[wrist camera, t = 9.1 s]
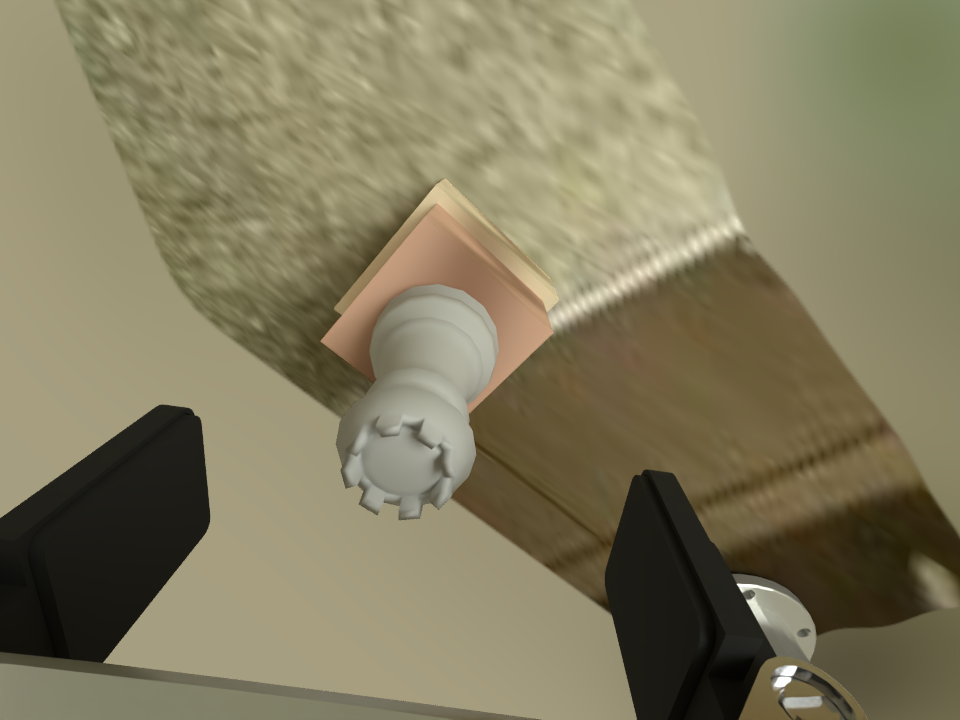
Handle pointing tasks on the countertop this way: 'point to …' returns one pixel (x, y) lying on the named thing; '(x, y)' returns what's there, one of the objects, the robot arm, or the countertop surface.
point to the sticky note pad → (450, 282)
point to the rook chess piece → (419, 400)
